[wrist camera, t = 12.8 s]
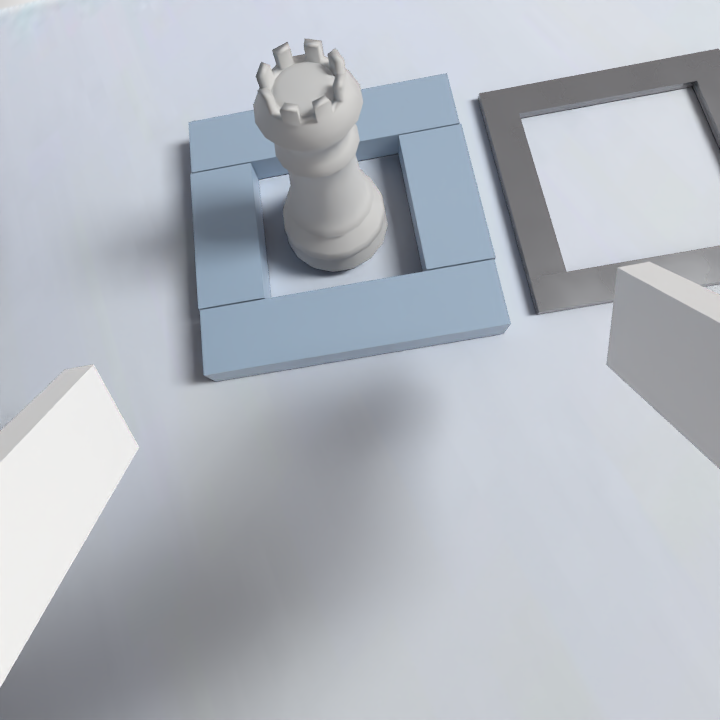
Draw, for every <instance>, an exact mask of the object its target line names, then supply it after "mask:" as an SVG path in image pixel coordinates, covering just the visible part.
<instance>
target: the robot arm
mask: <svg viewBox="0 0 720 720" xmlns="http://www.w3.org/2000/svg"><path fill="white" fill-rule="evenodd" d="M606 365H607V366H608V367H609V368H610V369H611V370H612V371H614V372H615V373H616V374H617V375H618V376H619V377H620V378H621V379H622V380H623V381H624V382H626V383H627V384H628V385H629V386H630V387H631V388H632V389H633V390H634V391H635V392H636V393H637V394H639V395H640V396H641V397H642V398H643V399H644V400H645V401H646V402H647V403H648V404H649V405H651V406H652V407H653V408H654V409H655V410H656V411H657V412H658V413H659V414H660V415H661V416H663V417H664V418H665V419H666V420H667V421H668V422H669V423H670V424H671V425H672V426H673V427H674V428H676V429H677V430H678V431H679V432H680V433H681V434H682V435H683V436H684V437H685V438H686V439H688V440H689V441H690V442H691V443H692V444H693V445H694V446H695V447H696V448H697V449H698V450H700V451H701V452H702V453H703V454H704V455H705V456H706V457H707V458H708V459H709V460H710V461H711V462H713V463H714V464H715V465H716V466H717V467H718V468H719V469H720V294H718V293H716V292H714V291H711V290H709V289H707V288H705V287H703V286H701V285H699V284H696V283H694V282H692V281H690V280H688V279H686V278H684V277H681V276H679V275H677V274H675V273H673V272H671V271H669V270H666V269H664V268H662V267H660V266H658V265H656V264H654V263H652V262H644V263H639V264H634V265H628V266H623V267H617V276H616V285H615V293H614V302H613V311H612V320H611V329H610V338H609V347H608V355H607V364H606ZM138 449H139V446H138V444H137V443H136V441H135V439H134V437H133V435H132V434H131V432H130V430H129V428H128V426H127V424H126V423H125V421H124V419H123V417H122V415H121V413H120V412H119V410H118V408H117V406H116V404H115V402H114V401H113V399H112V397H111V395H110V393H109V391H108V390H107V388H106V386H105V384H104V382H103V380H102V379H101V377H100V375H99V373H98V371H97V369H96V368H95V366H94V364H93V365H87V366H82V367H76V368H71V369H66V370H64V371H63V372H62V373H61V374H60V375H58V376H57V377H56V378H55V379H54V380H53V381H52V382H51V383H50V384H49V385H48V386H47V387H46V388H45V389H44V390H43V391H42V392H41V393H40V394H39V395H38V396H37V397H35V398H34V399H33V400H32V401H31V402H30V403H29V404H28V405H27V406H26V407H25V408H24V409H23V410H22V411H21V412H20V413H19V414H18V415H17V416H16V417H15V418H14V419H12V420H11V421H10V422H9V423H8V424H7V425H6V426H5V427H4V428H3V429H2V430H1V431H0V687H1V685H2V684H3V682H4V680H5V679H6V677H7V675H8V673H9V672H10V670H11V668H12V666H13V665H14V663H15V661H16V660H17V658H18V656H19V654H20V653H21V651H22V649H23V647H24V646H25V644H26V642H27V641H28V639H29V637H30V635H31V634H32V632H33V630H34V628H35V627H36V625H37V623H38V622H39V620H40V618H41V616H42V615H43V613H44V611H45V609H46V608H47V606H48V604H49V603H50V601H51V599H52V597H53V596H54V594H55V592H56V590H57V589H58V587H59V585H60V583H61V582H62V580H63V578H64V577H65V575H66V573H67V571H68V570H69V568H70V566H71V564H72V563H73V561H74V559H75V558H76V556H77V554H78V552H79V551H80V549H81V547H82V545H83V544H84V542H85V540H86V539H87V537H88V535H89V533H90V532H91V530H92V528H93V526H94V525H95V523H96V521H97V520H98V518H99V516H100V514H101V513H102V511H103V509H104V507H105V506H106V504H107V502H108V501H109V499H110V497H111V495H112V494H113V492H114V490H115V488H116V487H117V485H118V483H119V481H120V480H121V478H122V476H123V475H124V473H125V471H126V469H127V468H128V466H129V464H130V462H131V461H132V459H133V457H134V456H135V454H136V452H137V450H138Z"/></svg>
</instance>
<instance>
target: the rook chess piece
mask: <svg viewBox="0 0 720 720" xmlns="http://www.w3.org/2000/svg"><path fill="white" fill-rule="evenodd" d="M304 50H305V54H303V55H298V56H293V57H292V53H291V49H290V47H289V44H288V42H286V43H284V44H283V45H281V46H279V47H277V48H275V49H273V50H272V51H273V55H274V58H275V61H276V66H275V67H274V68H273V69H272V70H271V66H270V65H268V64H265V63H262V62H261V64H260V66H259V69H258V72H257V74H256V78H257V81H258V84H259V87H260V88H259V90H257V91H258V93H257V96H256V99H255V102H254V104H253V107H254V117H255V123H256V125H257V126H258V128H259V129H260V131H261V132H262V134H263V135H264V137H265V138H266V139H268V140H270V141H271V142H273V143H274V145H275V154H276V157H277V158H278V160H279V161H280V163H281V164H282V166H283V167H284V168H285V169H287V170H288V173H289V178H290V184H291V186H290V189H289V192H288V195H287V198H286V201H285V204H284V207H283V218H284V227H285V232H286V233H287V235H288V243H289V244H290V246H291V247H292V249H293V251H294V252H295V254H296V255H297V257H298V258H299V259H301V260H302V261H304V262H305V263H307V264H308V265H310V266H311V267H313V268H316V269H321V270H326V271H331V272H335V271H341V270H347V269H353V268H355V267H357V266H358V265H360V264H362V263H364V262H365V261H367V260H369V259H370V258H372V256H373V255H374V254H375V252H376V251H377V250H378V249H379V247H380V246H381V245H382V244H383V241H384V237H385V234H386V230H387V226H388V223H387V218H386V212H385V207H384V201H383V196H382V194H381V192H380V191H379V189H378V188H377V187H376V185H375V184H374V182H373V181H372V180H371V178H370V177H369V176H367V175H366V174H365V173H364V172H363V170H361V169H360V167H359V164H358V161H357V158H356V155H355V154H356V151H357V148H358V144H359V141H360V139H359V134H358V128H357V125H356V124H355V123H356V122H357V121H358V119H359V115H360V112H361V109H362V105H363V98H362V93H361V87H360V84H359V83H358V82H357V80H356V79H355V78H354V76H353V75H352V74H351V73H350V71H349V70H347V69H346V68H345V61H344V59H343V57H342V56H341V55H340V53H339V52H338V51H337V50H336V48H335V49H334V50H332V51H331V52H330V53H328V58H327V57H325V56H324V53H323V47H322V41H319V40H312V39H305V41H304Z"/></svg>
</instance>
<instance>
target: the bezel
mask: <svg viewBox="0 0 720 720" xmlns="http://www.w3.org/2000/svg"><path fill="white" fill-rule="evenodd" d="M692 86H693V88H694V91H695V93H696V95H697V98H698V100H699V102H700V105H701V107H702V109H703V112H704V114H705V116H706V118H707V121H708V123H709V125H710V128H711V130H712V132H713V135H714V137H715V139H716V141H717V144H718V146H719V148H720V50H719V49H714V50H709V51H704V52H698V53H693V54H688V55H682V56H677V57H671V58H666V59H661V60H655V61H650V62H645V63H639V64H634V65H629V66H623V67H618V68H613V69H607V70H602V71H597V72H591V73H586V74H581V75H575V76H570V77H565V78H559V79H554V80H549V81H543V82H538V83H533V84H527V85H522V86H517V87H511V88H506V89H501V90H495V91H490V92H485V93H479V97H478V101H479V104H480V108H481V112H482V115H483V119H484V123H485V126H486V130H487V134H488V137H489V141H490V145H491V148H492V152H493V156H494V159H495V163H496V167H497V170H498V174H499V178H500V181H501V185H502V189H503V192H504V196H505V200H506V203H507V207H508V211H509V214H510V218H511V222H512V225H513V229H514V233H515V236H516V240H517V244H518V247H519V251H520V255H521V258H522V262H523V266H524V269H525V273H526V277H527V280H528V284H529V288H530V291H531V295H532V299H533V302H534V306H535V310H536V313H537V314H543V313H549V312H555V311H561V310H567V309H573V308H579V307H585V306H591V305H597V304H603V303H609V302H614V293H615V285H616V276H617V267H623V266H628V265H634V264H639V263H644V262H652V263H654V264H656V265H658V266H660V267H662V268H664V269H666V270H669V271H671V272H673V273H675V274H677V275H679V276H681V277H684V278H686V279H688V280H690V281H692V282H694V283H696V284H699V285H701V286H703V287H704V286H710V285H716V284H720V246H715V247H709V248H703V249H697V250H691V251H686V252H680V253H674V254H668V255H662V256H656V257H651V258H645V259H639V260H633V261H627V262H621V263H615V264H610V265H604V266H598V267H592V268H586V269H580V270H575V271H569V272H566V268H565V265H564V262H563V258H562V255H561V252H560V248H559V245H558V242H557V238H556V235H555V232H554V228H553V225H552V222H551V218H550V215H549V212H548V208H547V205H546V202H545V198H544V195H543V192H542V188H541V185H540V182H539V178H538V175H537V172H536V168H535V165H534V162H533V158H532V155H531V152H530V148H529V145H528V142H527V138H526V135H525V132H524V128H523V125H522V122H521V118H524V117H529V116H535V115H540V114H546V113H551V112H557V111H562V110H567V109H573V108H578V107H584V106H589V105H594V104H600V103H605V102H611V101H616V100H622V99H627V98H632V97H638V96H643V95H649V94H654V93H659V92H665V91H670V90H676V89H681V88H687V87H692Z"/></svg>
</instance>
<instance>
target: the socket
mask: <svg viewBox="0 0 720 720" xmlns="http://www.w3.org/2000/svg"><path fill="white" fill-rule="evenodd" d="M361 93H362V98H363V105H362V109H361V112H360V115H359V119H358V121H357V122H356V123H355V124H356V125H357V128H358V134H359V139H360V141H359V144H358V148H357V151H356V154H355V155H356V158H357V161H360V160H365V159H371V158H376V157H382V156H387V155H393V154H398V153H399V159H400V164H401V169H402V174H403V178H404V183H405V188H406V193H407V198H408V203H409V207H410V212H411V217H412V222H413V227H414V232H415V237H416V241H417V246H418V251H419V256H420V261H421V266H422V270H423V272H417V273H412V274H406V275H400V276H394V277H389V278H383V279H377V280H371V281H366V282H360V283H354V284H348V285H342V286H337V287H331V288H325V289H319V290H314V291H308V292H302V293H296V294H291V295H285V296H279V297H273V298H271V291H270V282H269V272H268V263H267V253H266V244H265V234H264V225H263V216H262V206H261V197H260V187H259V180H258V179H262V178H267V177H273V176H278V175H284V174H289V173H288V170H287V169H285V168H284V167H283V166H282V164H281V163H280V161H279V160H278V158H277V157H276V154H275V145H274V143H273V142H271V141H270V140H268V139H266V138H265V137H264V135H263V134H262V132H261V131H260V129H259V128H258V126H257V125H256V123H255V117H254V110H250V111H245V112H240V113H235V114H229V115H224V116H219V117H213V118H208V119H203V120H198V121H192V122H189V138H190V155H191V171H192V174H190V178H191V195H192V212H193V229H194V246H195V263H196V280H197V296H198V309H199V310H200V322H201V338H202V355H203V372H204V376H206V377H208V378H210V379H212V380H213V381H215V382H217V381H223V380H229V379H235V378H241V377H247V376H253V375H259V374H265V373H271V372H277V371H283V370H289V369H295V368H301V367H307V366H313V365H319V364H325V363H331V362H337V361H343V360H349V359H355V358H361V357H367V356H373V355H379V354H385V353H391V352H397V351H403V350H409V349H415V348H420V347H426V346H432V345H438V344H444V343H450V342H456V341H462V340H468V339H474V338H480V337H486V336H492V335H498V334H504V332H505V331H506V330H507V328H508V327H509V326H510V324H511V323H510V319H509V315H508V311H507V307H506V303H505V299H504V295H503V291H502V287H501V283H500V280H499V276H498V272H497V268H496V264H495V258H496V257H495V253H494V250H493V246H492V242H491V238H490V234H489V230H488V226H487V222H486V218H485V214H484V210H483V207H482V203H481V199H480V195H479V191H478V187H477V183H476V179H475V175H474V171H473V168H472V164H471V160H470V156H469V152H468V148H467V144H466V140H465V136H464V132H463V128H462V125H461V124H459V119H458V115H457V111H456V107H455V103H454V99H453V95H452V91H451V87H450V83H449V79H448V75H447V73H446V74H440V75H435V76H430V77H424V78H419V79H414V80H409V81H403V82H398V83H393V84H388V85H382V86H377V87H372V88H366V89H361Z"/></svg>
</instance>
